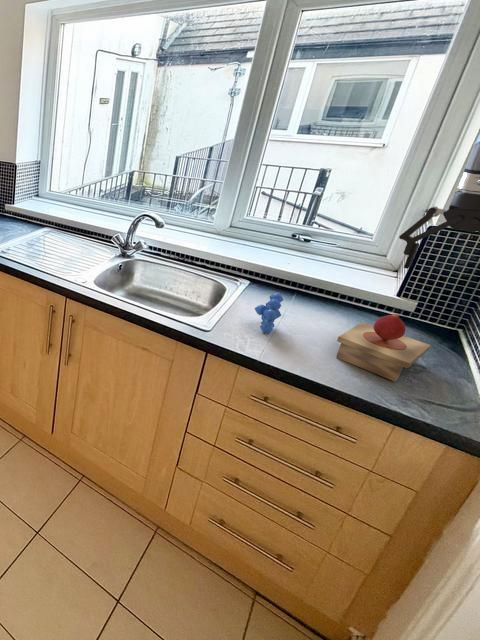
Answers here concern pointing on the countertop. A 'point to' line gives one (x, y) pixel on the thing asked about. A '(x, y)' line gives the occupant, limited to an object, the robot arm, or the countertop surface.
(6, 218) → the countertop surface
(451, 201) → the robot arm
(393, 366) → the wooden stand red oval
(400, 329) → the onion
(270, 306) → the grapes
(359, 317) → the countertop surface
